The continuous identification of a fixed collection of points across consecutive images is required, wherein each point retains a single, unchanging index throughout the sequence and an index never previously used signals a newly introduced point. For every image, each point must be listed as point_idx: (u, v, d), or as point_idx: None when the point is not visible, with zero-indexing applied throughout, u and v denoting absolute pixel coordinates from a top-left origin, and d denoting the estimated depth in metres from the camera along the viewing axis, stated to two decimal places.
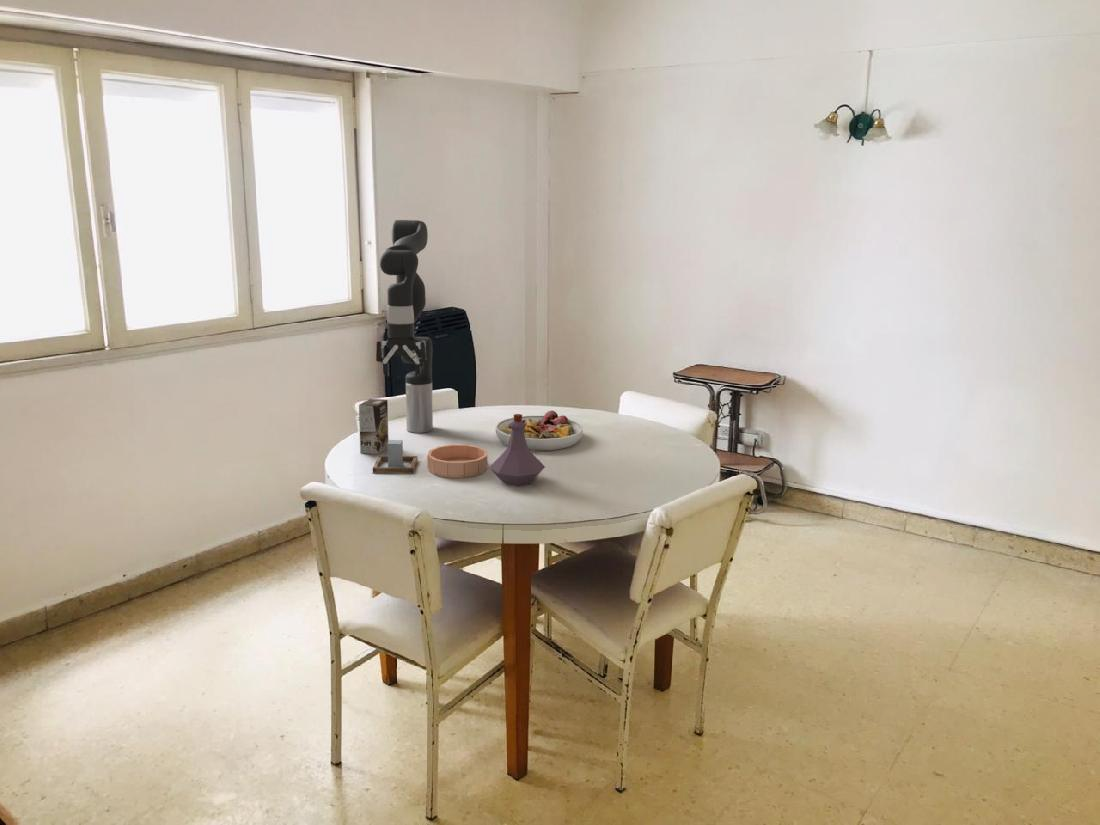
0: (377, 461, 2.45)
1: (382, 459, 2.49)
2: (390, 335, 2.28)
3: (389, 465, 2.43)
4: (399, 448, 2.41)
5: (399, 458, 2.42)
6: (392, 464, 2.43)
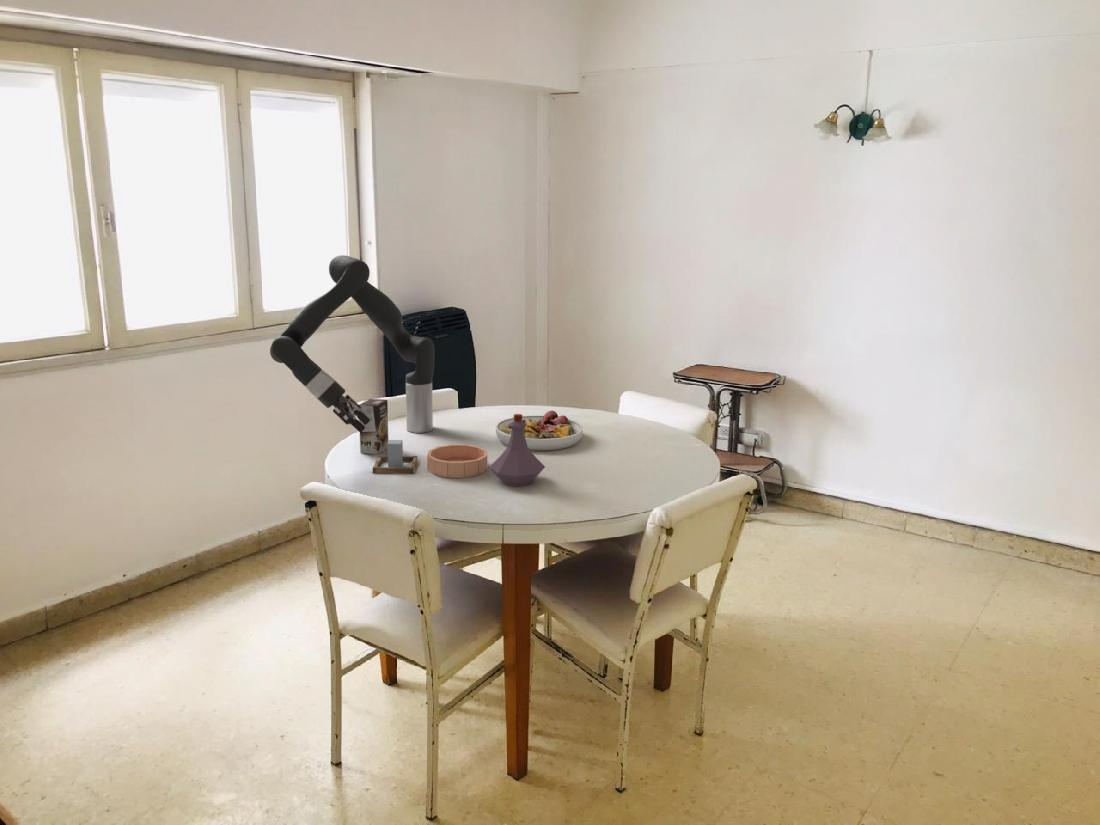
0: (377, 461, 2.45)
1: (382, 459, 2.49)
2: None
3: (389, 465, 2.43)
4: (399, 448, 2.41)
5: (399, 458, 2.42)
6: (392, 464, 2.43)
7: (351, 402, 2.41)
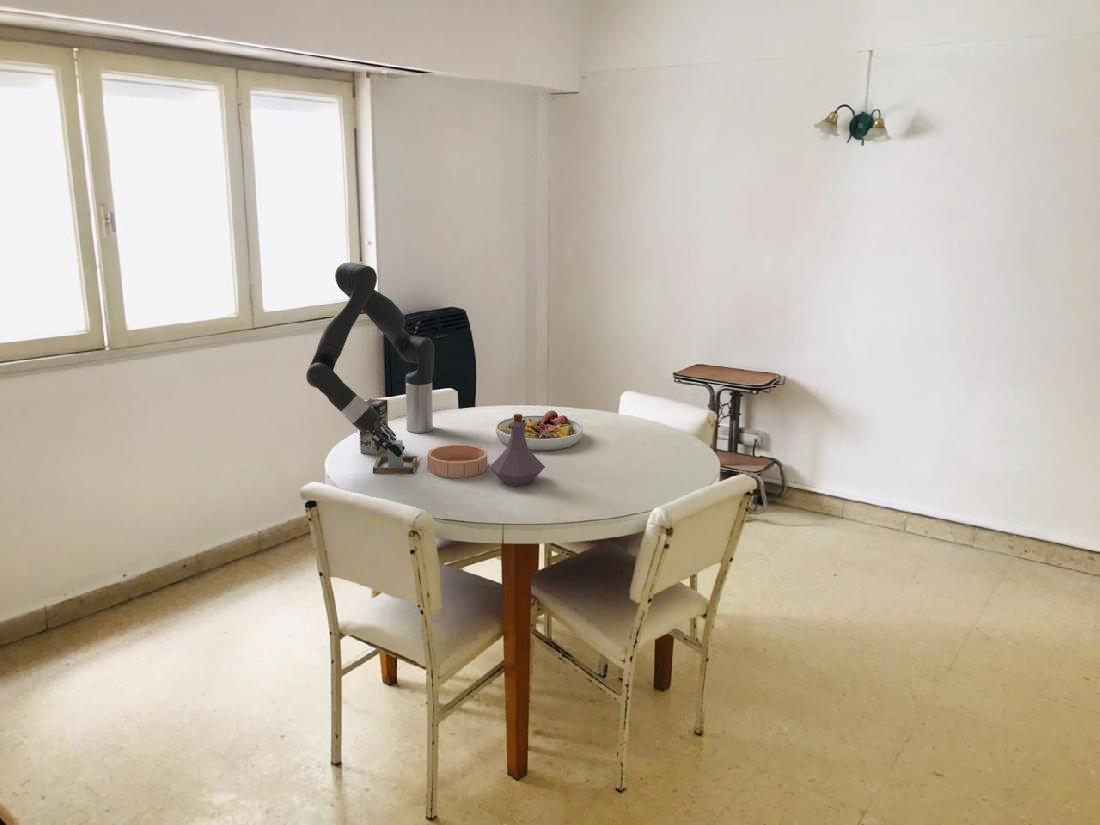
0: (377, 461, 2.45)
1: (382, 459, 2.49)
2: None
3: (389, 465, 2.43)
4: None
5: (399, 458, 2.42)
6: (392, 464, 2.42)
7: (385, 428, 2.43)
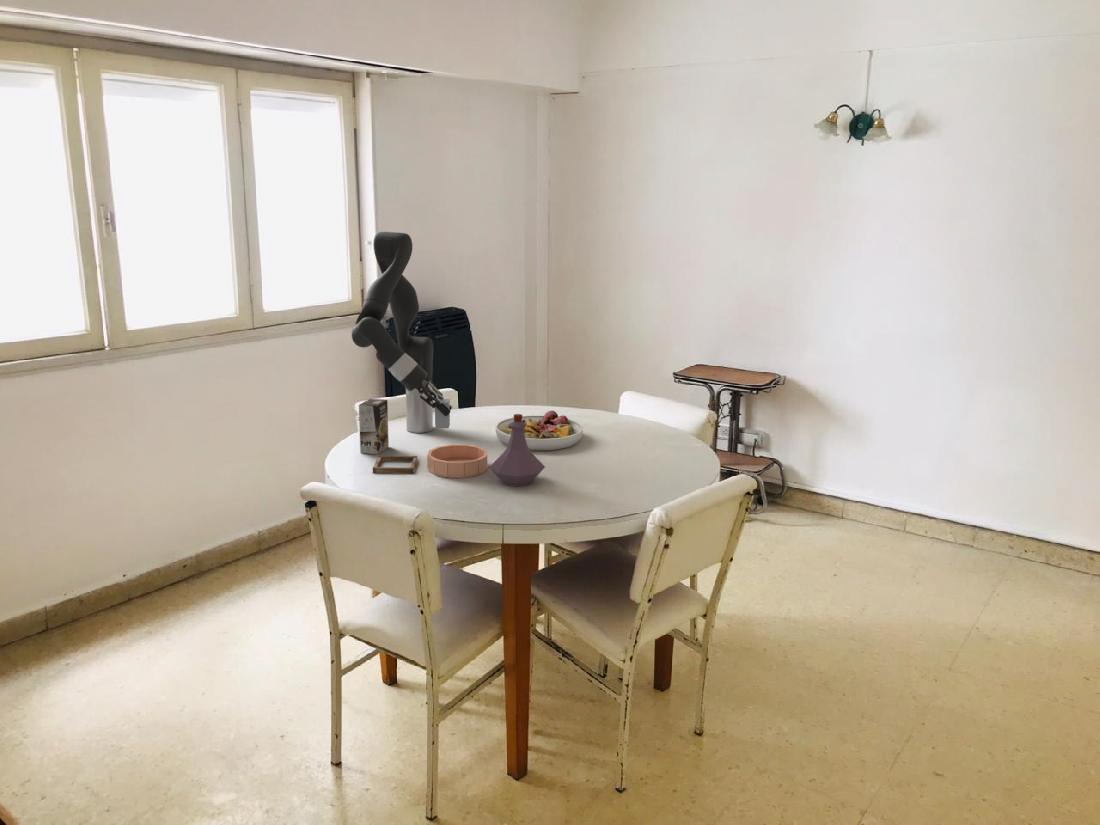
0: (377, 461, 2.45)
1: (382, 459, 2.49)
2: None
3: (436, 424, 2.39)
4: None
5: (446, 417, 2.39)
6: (439, 423, 2.39)
7: (433, 386, 2.40)
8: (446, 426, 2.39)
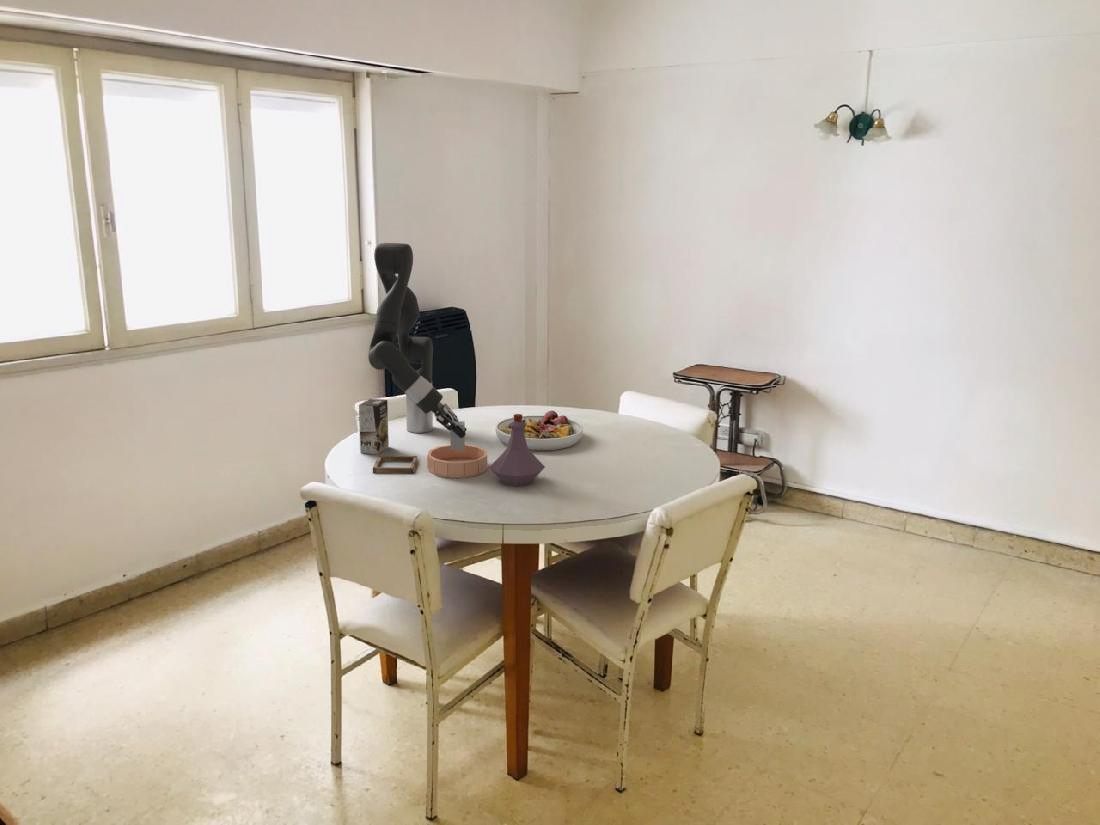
0: (377, 461, 2.45)
1: (382, 459, 2.49)
2: None
3: (451, 446, 2.41)
4: (462, 429, 2.40)
5: (462, 439, 2.40)
6: (454, 445, 2.41)
7: (448, 409, 2.42)
8: (461, 448, 2.41)
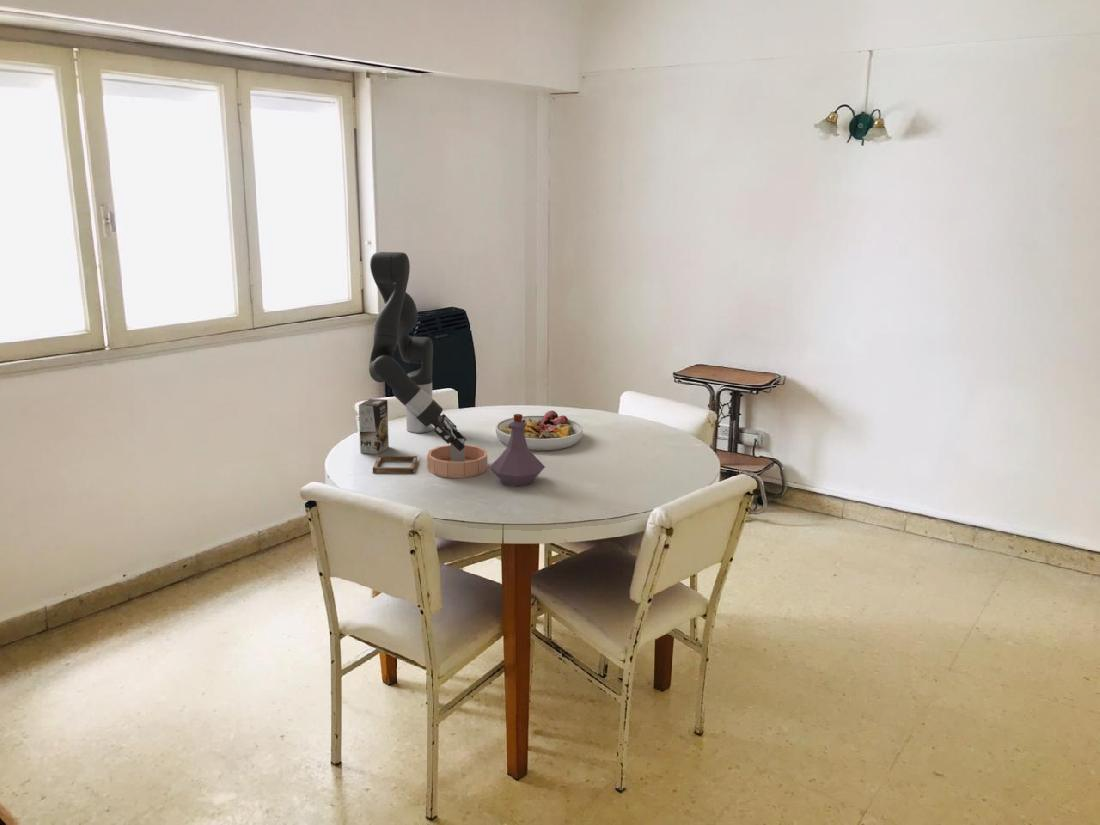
0: (377, 461, 2.45)
1: (382, 459, 2.49)
2: None
3: None
4: None
5: (462, 457, 2.42)
6: None
7: (448, 421, 2.43)
8: None
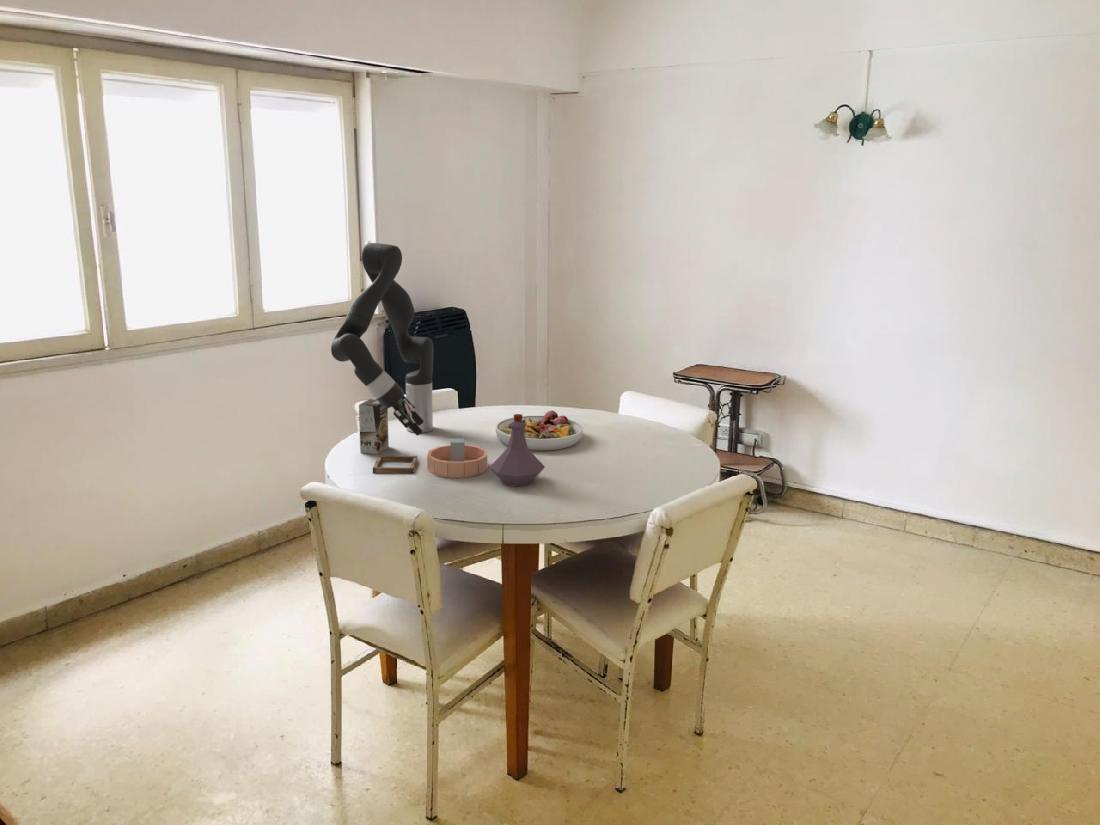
0: (377, 461, 2.45)
1: (382, 459, 2.49)
2: None
3: None
4: (462, 447, 2.41)
5: (462, 457, 2.42)
6: None
7: (408, 403, 2.42)
8: None
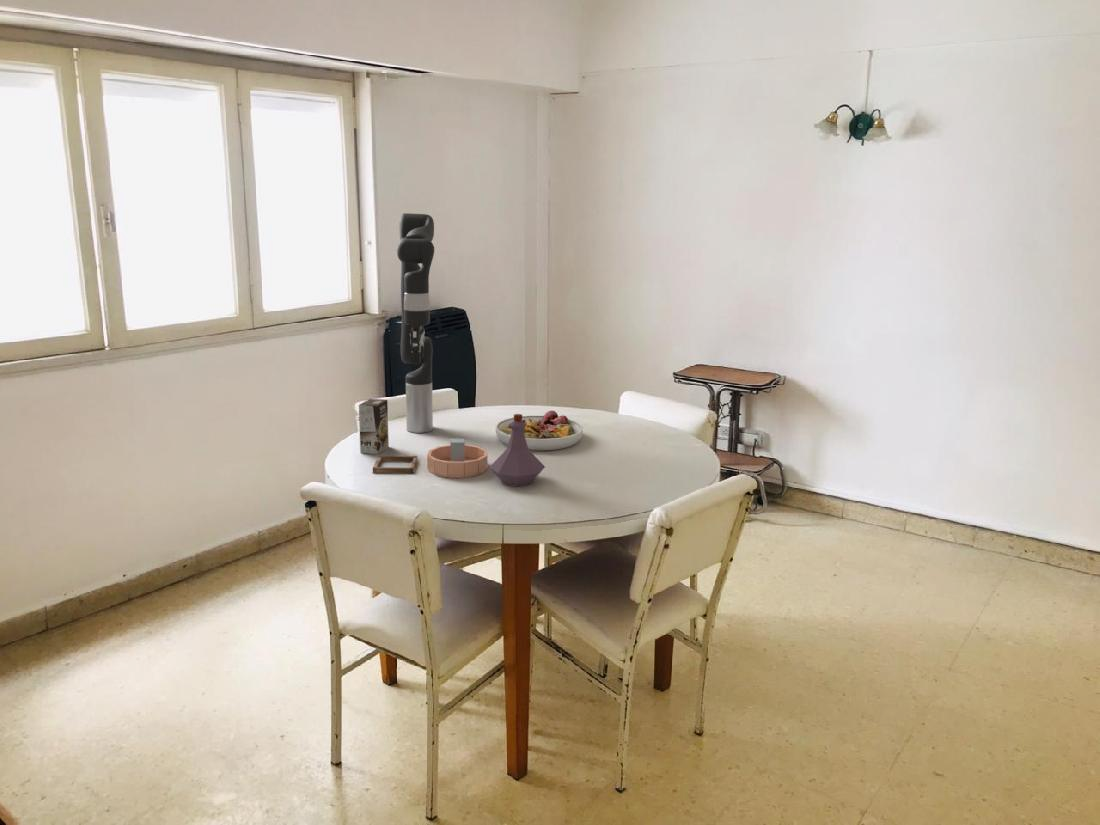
0: (377, 461, 2.45)
1: (382, 459, 2.49)
2: None
3: None
4: (462, 447, 2.41)
5: (462, 457, 2.42)
6: None
7: (423, 334, 2.40)
8: None
